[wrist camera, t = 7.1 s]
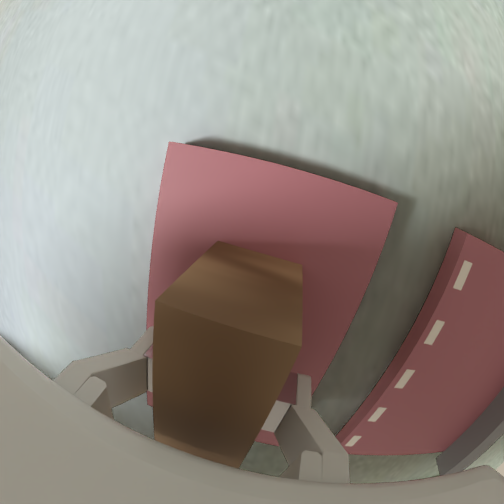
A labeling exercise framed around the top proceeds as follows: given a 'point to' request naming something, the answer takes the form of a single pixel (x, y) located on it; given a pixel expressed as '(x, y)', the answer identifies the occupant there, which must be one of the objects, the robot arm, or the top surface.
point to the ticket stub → (249, 291)
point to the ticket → (443, 369)
